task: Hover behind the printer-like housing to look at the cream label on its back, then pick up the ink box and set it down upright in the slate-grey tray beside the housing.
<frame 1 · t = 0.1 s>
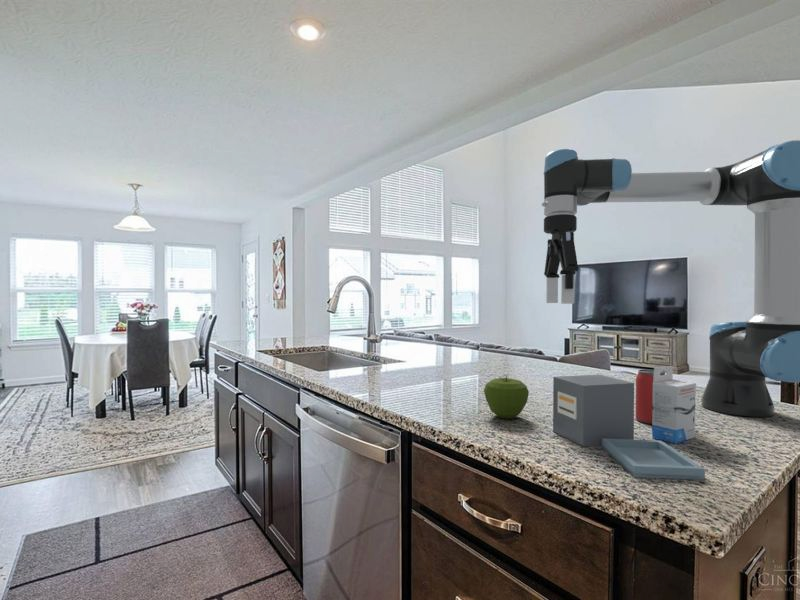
hand: (559, 303, 105), 28 cm above the worktop, fingers open, 13 cm apart
tray: (648, 462, 77), on the worktop
beer can: (651, 422, 103), on the worktop
apple: (505, 418, 106), on the worktop
housing: (591, 436, 92), on the worktop
ink box: (673, 438, 91), on the worktop
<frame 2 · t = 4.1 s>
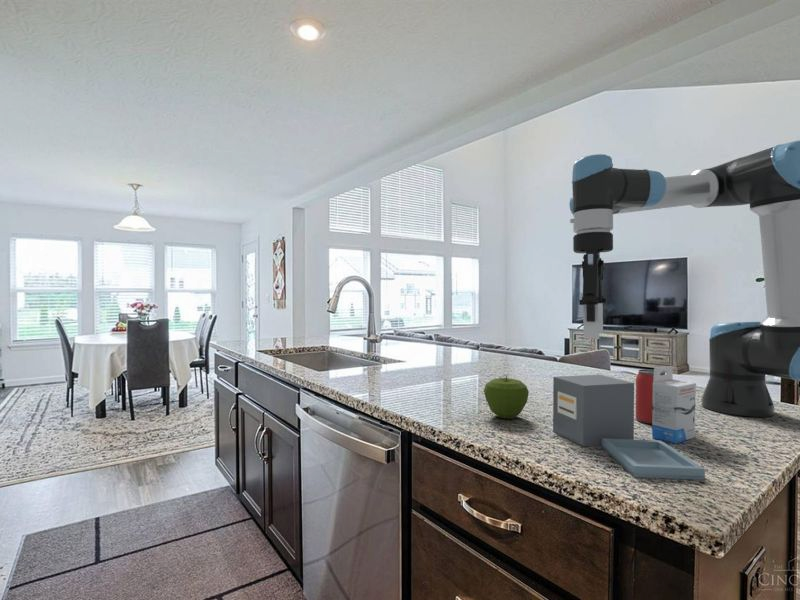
hand: (593, 335, 90), 22 cm above the worktop, fingers open, 13 cm apart
nothing on the worktop moved.
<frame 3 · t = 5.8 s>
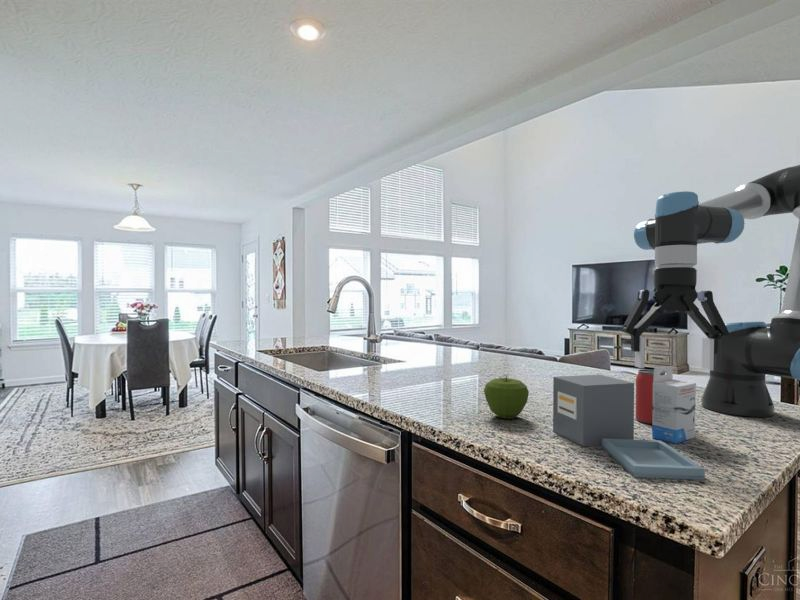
hand: (673, 368, 91), 15 cm above the worktop, fingers open, 13 cm apart
nothing on the worktop moved.
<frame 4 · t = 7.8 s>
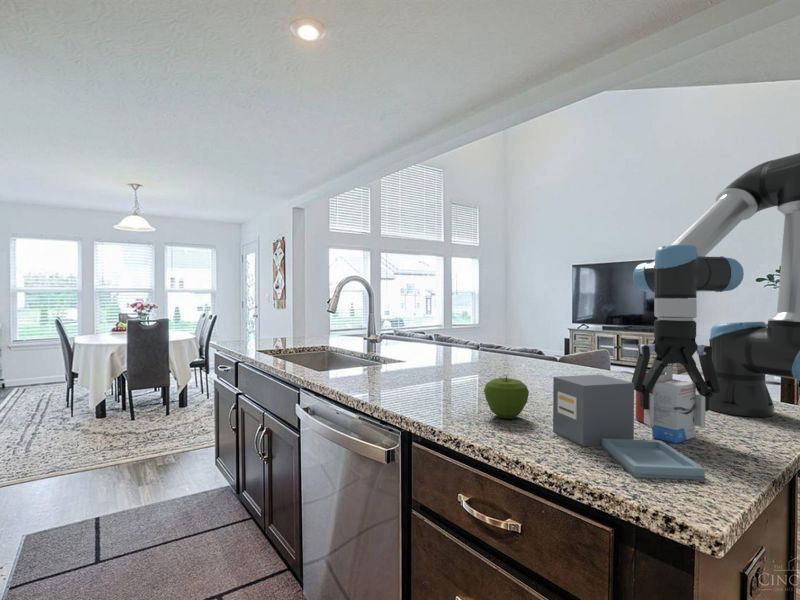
hand: (673, 425, 91), 3 cm above the worktop, fingers closed on ink box, 9 cm apart
ink box: (673, 438, 91), on the worktop, touching gripper
everything else where it was.
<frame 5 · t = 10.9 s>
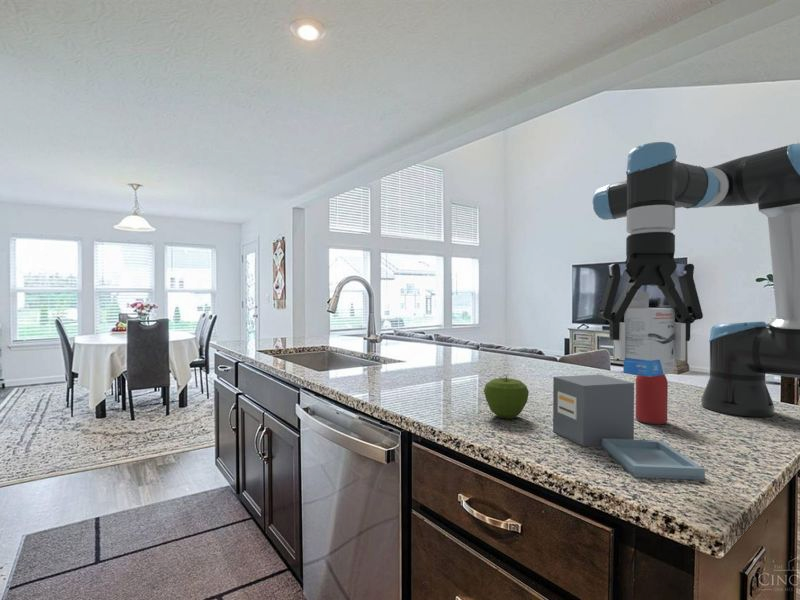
hand: (649, 359, 77), 18 cm above the worktop, fingers closed on ink box, 9 cm apart
ink box: (649, 374, 77), point 16 cm above the worktop, touching gripper
everything else where it was.
when the fingers open (5 cm above the worktop, at t = 14.1 s): ink box stays where it is, resting on tray.
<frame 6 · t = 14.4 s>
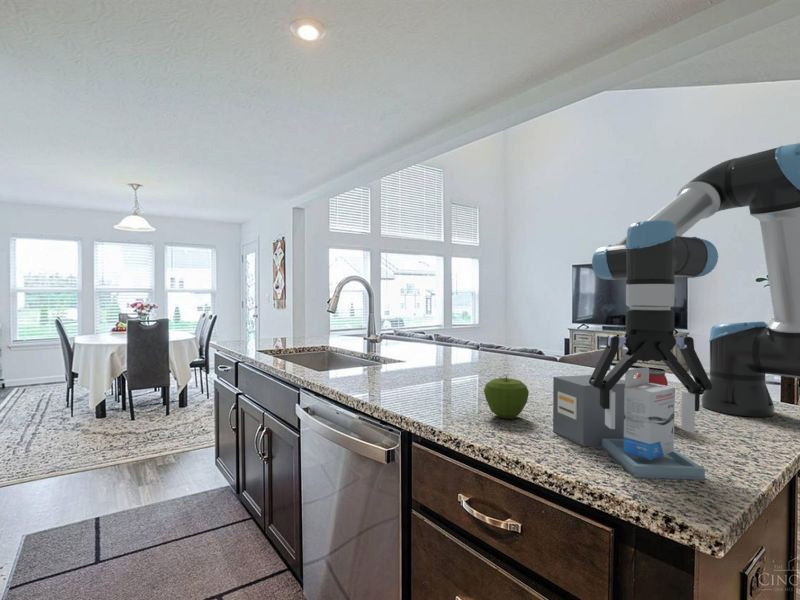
hand: (648, 428, 77), 6 cm above the worktop, fingers open, 13 cm apart
ink box: (649, 453, 77), point 2 cm above the worktop, touching tray
everything else where it was.
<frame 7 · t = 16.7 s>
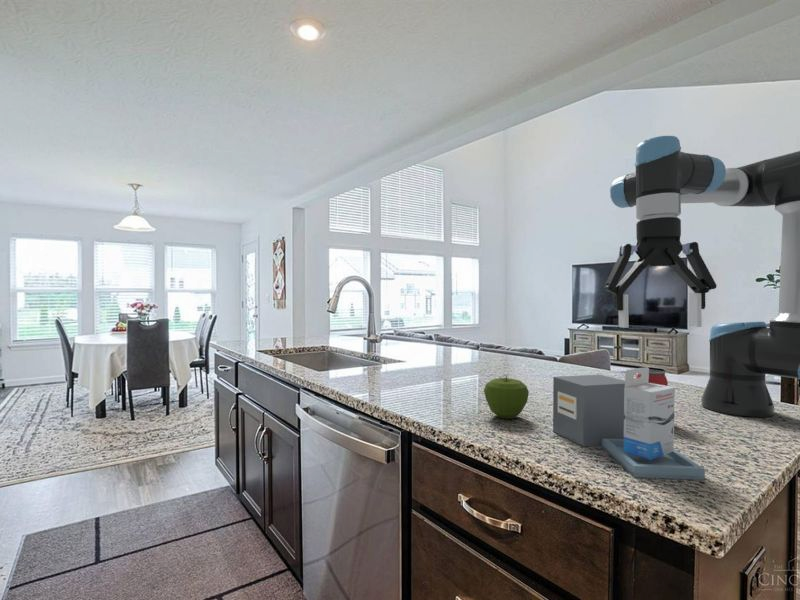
hand: (659, 327, 85), 24 cm above the worktop, fingers open, 13 cm apart
nothing on the worktop moved.
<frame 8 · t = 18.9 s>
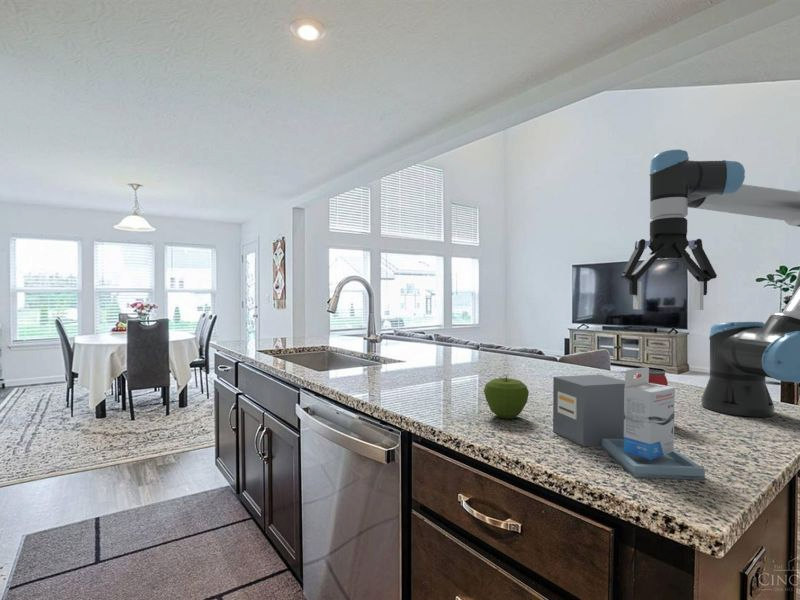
hand: (667, 309, 102), 27 cm above the worktop, fingers open, 13 cm apart
nothing on the worktop moved.
at the end: ink box inside the target area on the tray (0.1 cm from its centre), point 1.6 cm above the tray's base; ink box tilted 0°; the gripper is holding nothing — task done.
